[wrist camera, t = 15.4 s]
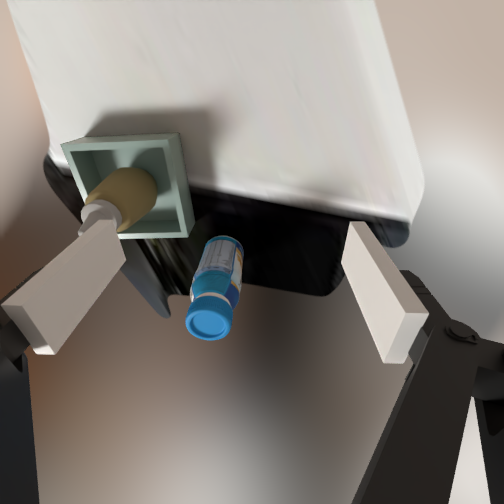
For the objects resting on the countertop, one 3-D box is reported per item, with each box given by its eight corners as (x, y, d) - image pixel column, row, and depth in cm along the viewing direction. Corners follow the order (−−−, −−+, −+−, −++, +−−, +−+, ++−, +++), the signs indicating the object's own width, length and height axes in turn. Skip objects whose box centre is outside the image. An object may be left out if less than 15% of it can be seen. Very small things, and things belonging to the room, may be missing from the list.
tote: (83, 137, 43) (60, 144, 38) (179, 132, 43) (168, 139, 37) (115, 224, 52) (99, 239, 47) (195, 221, 51) (187, 237, 46)
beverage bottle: (222, 225, 51) (203, 295, 35) (253, 251, 55) (249, 327, 38) (196, 251, 55) (166, 325, 38) (226, 274, 58) (211, 352, 41)
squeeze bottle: (114, 157, 44) (38, 196, 29) (163, 165, 44) (112, 207, 29) (120, 202, 48) (56, 256, 33) (164, 208, 49) (121, 265, 34)
